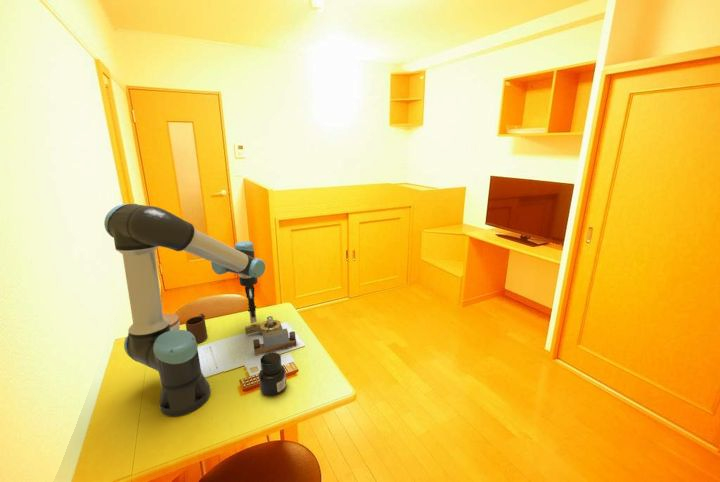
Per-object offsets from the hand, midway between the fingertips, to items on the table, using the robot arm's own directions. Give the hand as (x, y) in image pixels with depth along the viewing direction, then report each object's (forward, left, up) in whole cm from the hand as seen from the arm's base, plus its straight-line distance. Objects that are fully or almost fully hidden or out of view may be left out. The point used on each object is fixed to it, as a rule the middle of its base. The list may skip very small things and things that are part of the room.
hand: (253, 321), depth 152 cm
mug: (+1, +23, -3) cm, 23 cm away
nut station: (-7, -7, -3) cm, 10 cm away
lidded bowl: (+5, +37, -3) cm, 38 cm away
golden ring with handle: (-7, -4, -1) cm, 8 cm away
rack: (-22, -7, -3) cm, 23 cm away
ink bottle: (-45, -3, -3) cm, 45 cm away
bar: (-22, -7, 0) cm, 23 cm away
